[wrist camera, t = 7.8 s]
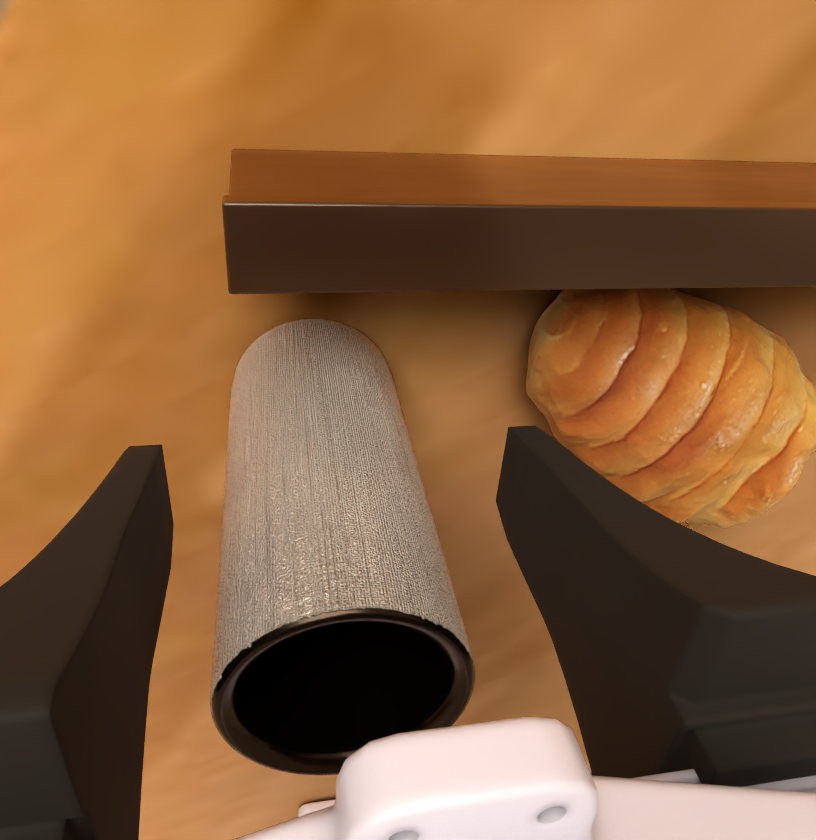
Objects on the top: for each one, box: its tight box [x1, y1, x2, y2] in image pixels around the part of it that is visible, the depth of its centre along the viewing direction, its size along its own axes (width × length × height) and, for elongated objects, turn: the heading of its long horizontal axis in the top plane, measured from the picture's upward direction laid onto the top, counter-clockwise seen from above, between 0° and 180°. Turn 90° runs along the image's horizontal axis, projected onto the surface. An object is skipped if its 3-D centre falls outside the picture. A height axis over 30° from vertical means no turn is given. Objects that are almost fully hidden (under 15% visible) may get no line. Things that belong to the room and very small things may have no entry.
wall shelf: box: [222, 149, 816, 294], centre depth 17 cm, size 2×18×4 cm, turn 86°
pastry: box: [526, 288, 816, 528], centre depth 21 cm, size 9×7×4 cm
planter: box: [210, 319, 475, 775], centre depth 16 cm, size 4×4×10 cm
